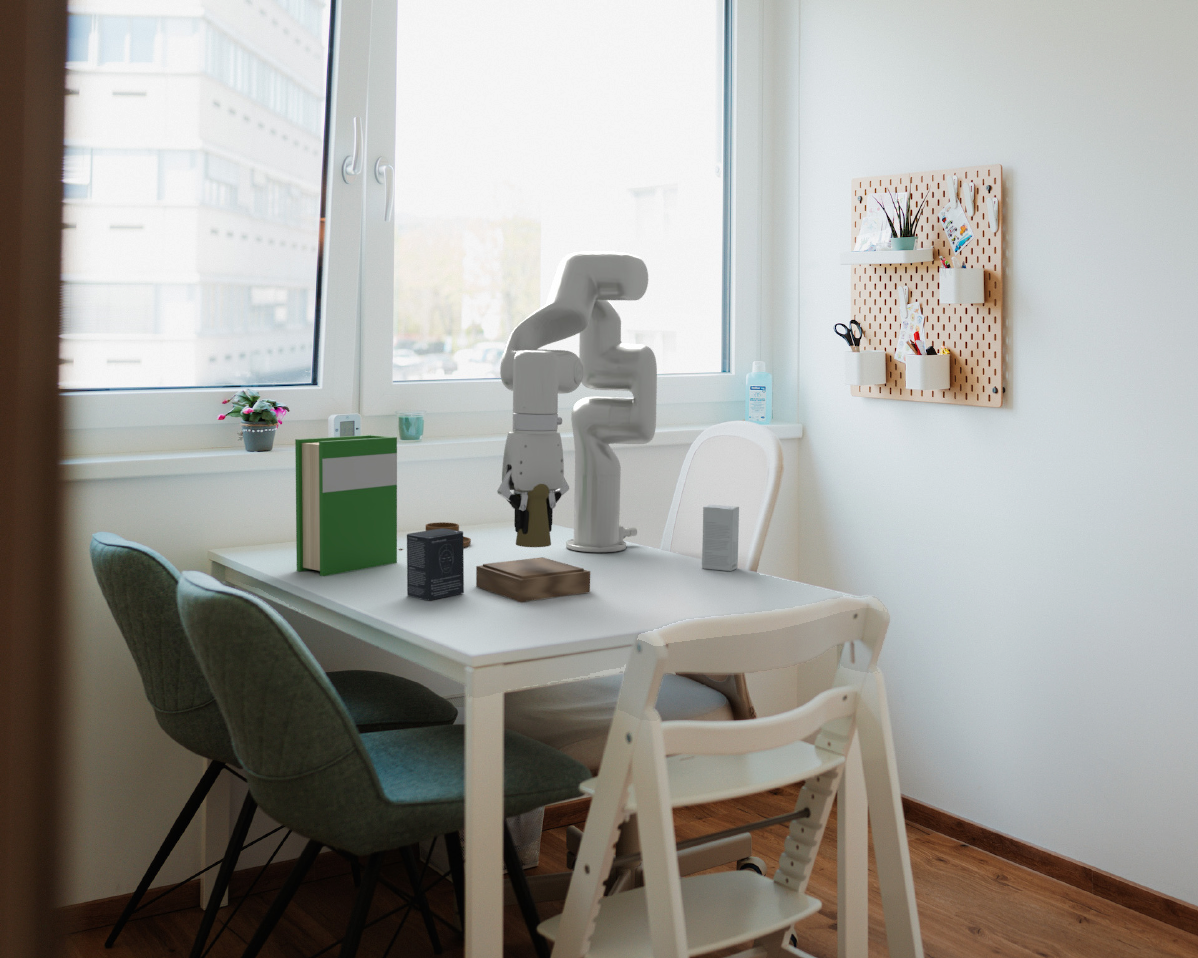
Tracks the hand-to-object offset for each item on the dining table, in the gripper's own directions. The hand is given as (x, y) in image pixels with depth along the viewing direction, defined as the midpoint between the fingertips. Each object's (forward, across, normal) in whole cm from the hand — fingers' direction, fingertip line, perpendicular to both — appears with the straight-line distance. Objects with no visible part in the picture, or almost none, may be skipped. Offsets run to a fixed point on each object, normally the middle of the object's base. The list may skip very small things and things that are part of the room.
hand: (533, 530), depth 184 cm
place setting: (+11, -6, -50) cm, 51 cm away
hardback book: (+10, +18, -35) cm, 41 cm away
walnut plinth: (+10, 0, 0) cm, 10 cm away
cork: (+2, 0, 0) cm, 2 cm away
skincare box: (+10, -41, +3) cm, 42 cm away
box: (+10, +16, -5) cm, 20 cm away
